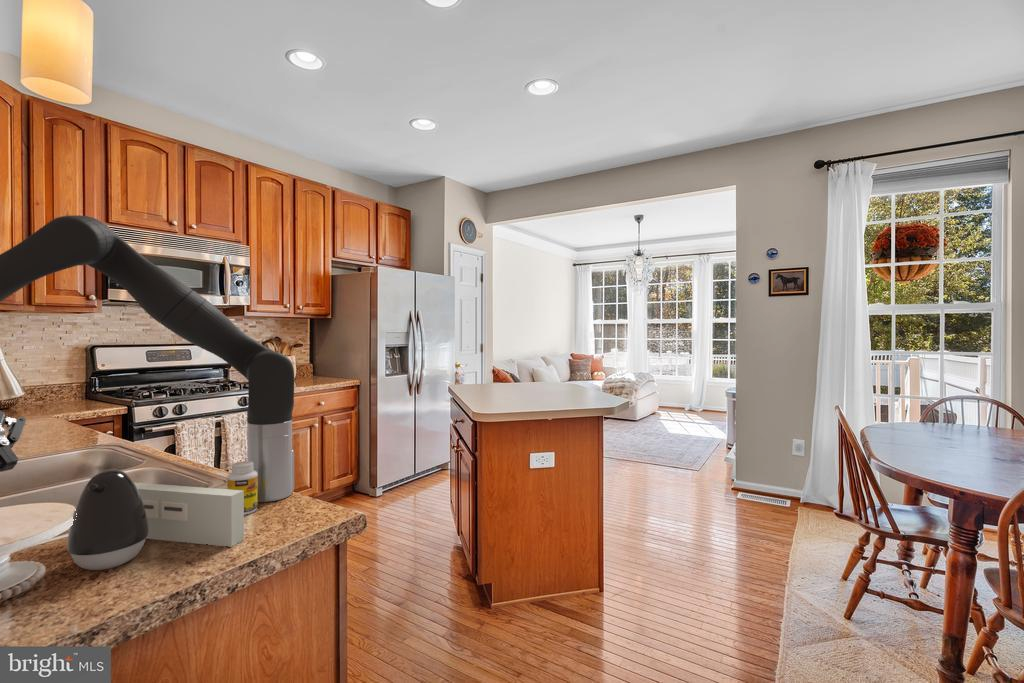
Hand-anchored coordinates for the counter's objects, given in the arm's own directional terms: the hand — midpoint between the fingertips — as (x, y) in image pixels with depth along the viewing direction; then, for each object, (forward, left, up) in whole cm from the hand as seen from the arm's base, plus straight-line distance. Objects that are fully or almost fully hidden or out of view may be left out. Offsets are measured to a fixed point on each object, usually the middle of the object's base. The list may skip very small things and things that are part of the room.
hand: (9, 467), depth 83 cm
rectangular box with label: (-10, +22, -14) cm, 28 cm away
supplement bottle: (-24, +25, -15) cm, 38 cm away
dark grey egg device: (0, +20, -15) cm, 25 cm away
